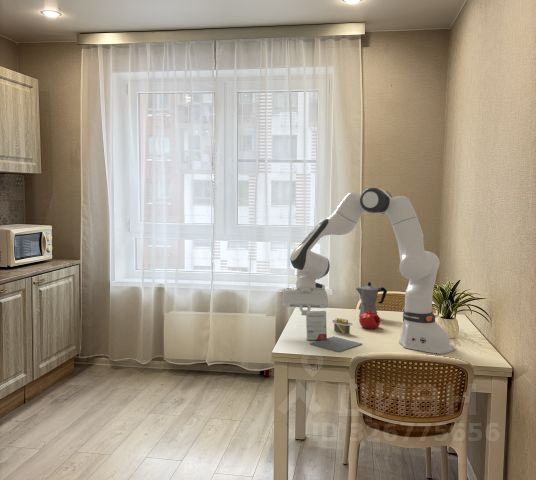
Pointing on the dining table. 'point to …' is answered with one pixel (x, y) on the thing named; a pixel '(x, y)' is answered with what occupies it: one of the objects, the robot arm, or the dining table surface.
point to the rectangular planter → (342, 325)
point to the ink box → (316, 325)
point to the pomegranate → (369, 320)
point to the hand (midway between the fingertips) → (304, 314)
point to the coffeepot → (370, 297)
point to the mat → (336, 344)
